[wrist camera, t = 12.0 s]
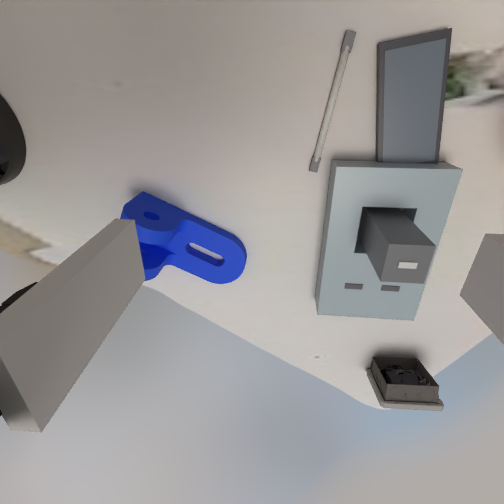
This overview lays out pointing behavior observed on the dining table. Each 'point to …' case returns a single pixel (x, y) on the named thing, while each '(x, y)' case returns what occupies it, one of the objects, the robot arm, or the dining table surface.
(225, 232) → the bracket
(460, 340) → the dining table surface
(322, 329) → the dining table surface
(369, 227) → the plug
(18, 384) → the robot arm
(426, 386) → the electrical switch
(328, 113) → the usb cable
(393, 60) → the phone
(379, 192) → the plate
